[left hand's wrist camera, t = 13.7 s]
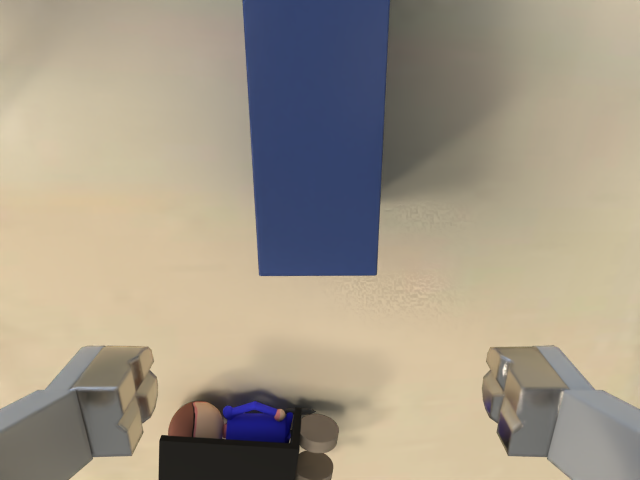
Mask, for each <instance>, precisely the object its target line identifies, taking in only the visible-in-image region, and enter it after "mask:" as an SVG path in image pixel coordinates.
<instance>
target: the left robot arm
mask: <svg viewBox="0 0 640 480" xmlns="http://www.w3.org/2000/svg"><path fill="white" fill-rule="evenodd" d="M153 362H154V359H153V354H152V350H151V349H150V348H149V347H145V346H85V347H82V348H81V349H80V350H79V351H78V352H77V353H76V354H75V356H74V357H73V358H72V359H71V360H70V361H69V362H68V364H67V365H66V366H65V367H64V368H63V369H62V370H61V372H60V373H59V374H58V375H57V376H56V377H55V379H54V380H53V381H52V382H51V383H50V384H49V385H48V387H47V388H46V389H45V390H37V391H35V392H33V393H31V394H29V395H27V396H25V397H23V398H21V399H19V400H17V401H15V402H13V403H11V404H9V405H7V406H5V407H4V408H2V409H0V480H69V479H70V478H71V477H72V476H74V475H75V474H76V473H77V472H78V471H79V470H81V469H82V468H83V467H84V466H85V465H87V464H88V463H89V462H90V461H91V460H92V459H93V457H111V456H132V454H133V452H134V450H135V448H136V446H137V444H138V442H139V440H140V438H141V436H142V434H143V427H142V423H144V422H145V421H146V420H148V419H149V418H151V416H152V413H153V411H154V409H155V406H156V401H157V397H158V383H157V377H156V376H155V375H154V374H153V373H152V372H151V371H150V368H151V366H152V364H153ZM486 362H487V364H488V366H489V368H490V371H489V372H488V373H487V374H486V375H485V376H484V377H483V384H482V395H483V402H484V406H485V409H486V411H487V413H488V416H489V418H491V419H492V420H494V421H495V422H496V423H498V427H497V434H498V436H499V438H500V440H501V442H502V444H503V446H504V448H505V450H506V452H507V454H508V456H529V457H547V459H548V460H549V461H550V462H551V463H553V464H554V465H555V466H556V467H557V468H558V469H560V470H561V471H562V472H563V473H564V474H565V475H567V476H568V477H569V478H570V479H571V480H640V409H638V408H636V407H634V406H632V405H631V404H629V403H627V402H625V401H623V400H621V399H619V398H617V397H615V396H613V395H611V394H609V393H607V392H605V391H603V390H595V389H594V388H593V387H592V385H591V384H590V383H589V382H588V381H587V380H586V379H585V377H584V376H583V375H582V374H581V373H580V372H579V371H578V369H577V368H576V367H575V366H574V365H573V364H572V362H571V361H570V360H569V359H568V358H567V357H566V356H565V354H564V353H563V352H562V351H561V350H560V349H559V348H558V347H556V346H554V345H549V346H532V347H490V349H489V351H488V353H487V359H486Z"/></svg>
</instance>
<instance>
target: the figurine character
mask: <svg viewBox="0 0 640 480" xmlns="http://www.w3.org/2000/svg"><path fill="white" fill-rule="evenodd" d="M252 410H257V411H260V412H262V413H246V412H249V411H252ZM314 412H316V411H314V410H312V409H311V408H287V409H285V410H282V409H276V408H273V407H270V406H267V405H265V404H262V403H259V402H257V401H253V402H250V403H247V404H244V405H240V406H237V407H234V408H233V407H231V406H225V407H224V409H223V416H224V417H225V418H226V419H227V424H224V422H223V418H222V415H221V413H220V412H219V410H218V409H217V408H216V407H215V406H214V405H212V404H210V403H208V402H205V401H194V402H190V403H188V404H186V405H184V406H182V407H181V408H180V409H179V410H178V411H177V412H176V413H175V415H174V416H173V418H172V420H171V422H170V425H169V430H168V436H167V435H161V438H160V441H159V480H331V477H332V472H333V463H332V461H331V459H330V458H329V457H328V456H327V455H326V454H324V453H326V452H329V451H331V450H332V449H333V448H334V447H335V446H336V443H337V438H338V433H339V428H338V425H337V424H336V422H335V421H334V420H332V419H331V418H329V417H327V416H324V415H320V414H312V413H314ZM285 414H287V415H286V418H285ZM293 414H294V420H293V427H292V430H290V429H291V424H292V419H293ZM301 414H308V415H307V416H305V417H303V418H302V419H301ZM310 414H311V415H310ZM222 437H223V438H226V439H222ZM290 438H291V441H290V443H289V440H290ZM299 445H300V446H301V447H302V448H304V449H305V450H307V451H304V452H301V453H300V454H299Z"/></svg>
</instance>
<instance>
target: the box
mask: <svg viewBox="0 0 640 480" xmlns="http://www.w3.org/2000/svg"><path fill="white" fill-rule="evenodd" d="M389 11H390V0H243V16H244V32H245V49H246V66H247V82H248V99H249V115H250V132H251V149H252V165H253V182H254V198H255V215H256V232H257V248H258V265H259V275H260V276H370V275H377V259H378V238H379V217H380V197H381V176H382V156H383V135H384V114H385V94H386V73H387V52H388V32H389Z"/></svg>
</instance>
